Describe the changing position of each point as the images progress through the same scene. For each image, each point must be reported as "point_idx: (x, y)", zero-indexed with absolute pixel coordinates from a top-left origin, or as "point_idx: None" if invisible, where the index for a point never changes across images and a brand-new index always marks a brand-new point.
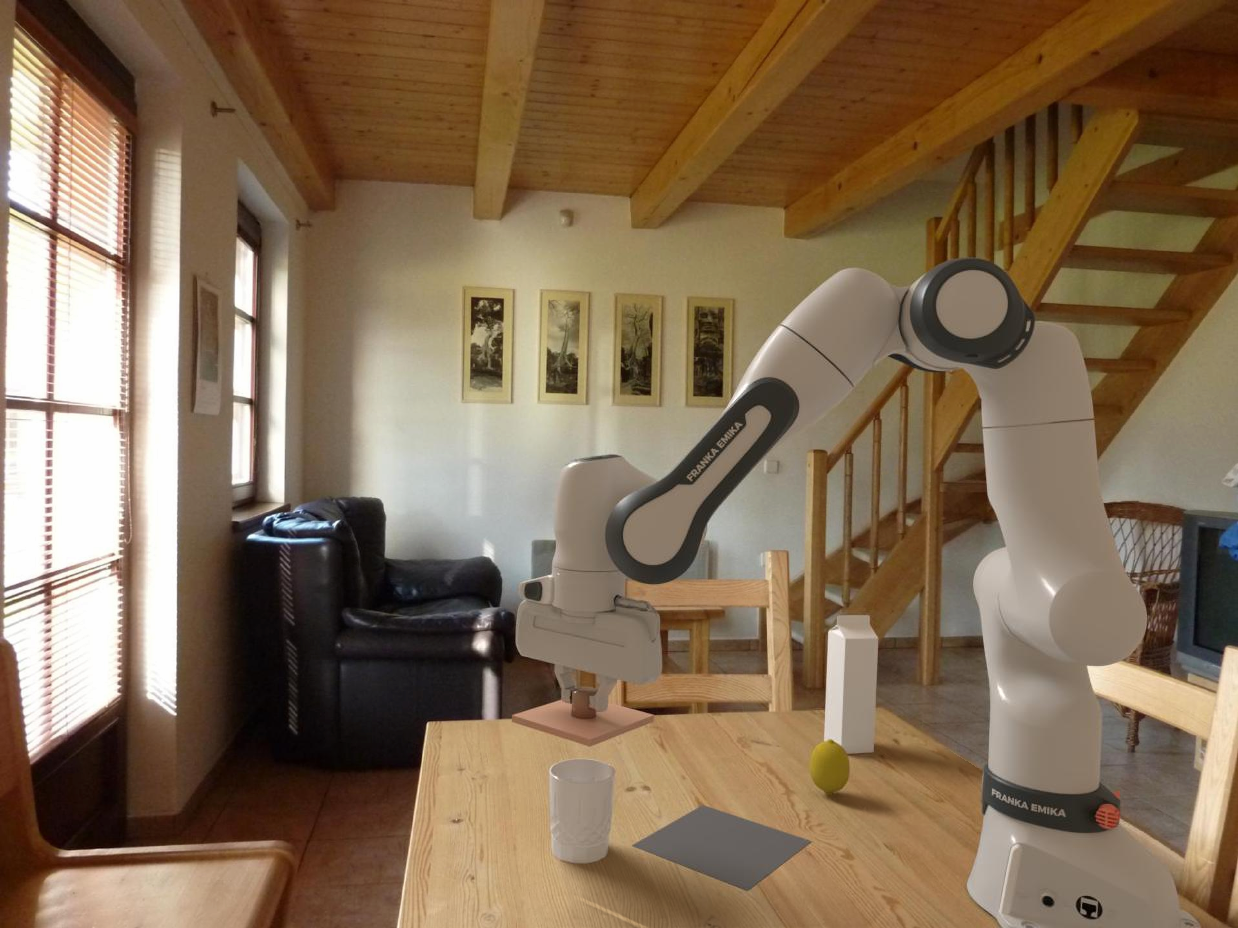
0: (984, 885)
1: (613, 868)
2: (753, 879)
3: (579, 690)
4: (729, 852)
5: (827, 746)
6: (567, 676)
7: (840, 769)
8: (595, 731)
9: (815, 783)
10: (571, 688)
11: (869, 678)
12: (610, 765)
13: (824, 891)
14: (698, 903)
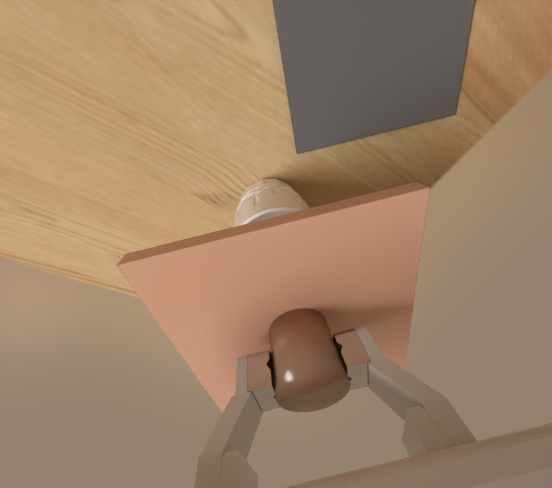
0: None
1: (316, 198)
2: (452, 84)
3: (306, 400)
4: (398, 47)
5: None
6: (239, 439)
7: None
8: (387, 349)
9: None
10: (267, 401)
11: None
12: (293, 210)
13: (535, 14)
14: (416, 173)
